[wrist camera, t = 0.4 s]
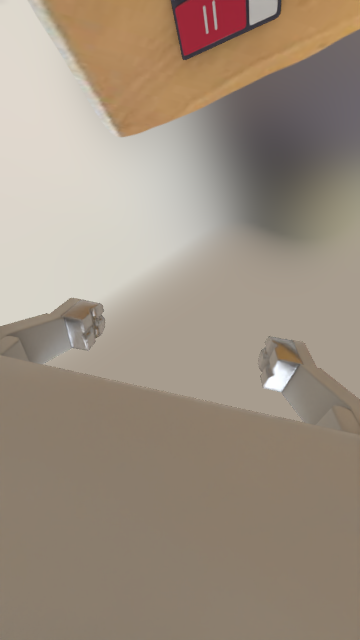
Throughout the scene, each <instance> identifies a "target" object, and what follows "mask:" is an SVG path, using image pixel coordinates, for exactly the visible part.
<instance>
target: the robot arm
mask: <svg viewBox="0 0 360 640" xmlns="http://www.w3.org/2000/svg"><path fill="white" fill-rule="evenodd" d="M103 312H104V309H103V305H102V304H100V303H95V302H90V301H86V300H81V299H76V298H70V299H69V300H67V301H66V302H65V303H63V304H62V305H61V306H59V307H58V308H57V309H55V310H54V311H53V312H52V313H50V314H47V313H46V314H43V315H39V316H36V317H32V318H29V319H25V320H21V321H18V322H14V323H11V324H7V325H3V326H0V640H360V399H359V398H357V397H356V396H355V395H353V394H352V393H351V392H350V391H348V390H347V389H346V388H345V387H343V386H342V385H341V384H340V383H338V382H337V381H336V380H335V379H333V378H332V377H331V376H330V375H328V374H327V373H326V372H324V371H323V370H322V369H321V368H317V367H316V365H315V363H314V361H313V359H312V357H311V355H310V353H309V351H308V349H307V347H306V345H305V343H303V342H300V341H295V340H287V339H281V338H276V337H270V336H269V337H268V338H267V339H266V341H265V345H266V347H265V348H264V349H262V350H261V353H260V355H259V360H258V365H259V369H260V370H261V371H262V374H261V382H262V387H263V388H266V389H270V390H274V391H278V392H282V394H283V396H284V397H285V398H286V399H287V401H288V402H289V403H290V405H291V406H292V407H293V409H294V410H295V411H296V413H297V414H298V415H299V416H300V418H301V419H302V420H303V422H299V421H295V420H291V419H286V418H281V417H277V416H272V415H268V414H263V413H258V412H254V411H250V410H245V409H241V408H236V407H232V406H227V405H223V404H218V403H213V402H209V401H204V400H200V399H196V398H191V397H187V396H183V395H178V394H173V393H169V392H164V391H159V390H155V389H151V388H146V387H142V386H137V385H133V384H128V383H124V382H119V381H115V380H110V379H106V378H101V377H97V376H92V375H88V374H83V373H79V372H74V371H70V370H65V369H61V368H56V367H52V366H47V365H43V364H44V363H46V362H48V361H49V360H51V359H53V358H55V357H57V356H59V355H60V354H62V353H64V352H66V351H68V350H70V349H71V348H76V349H82V350H87V351H88V350H89V349H90V348H91V346H92V345H93V344H94V343H95V338H97V337H99V336H100V335H101V334H102V332H103V330H104V328H105V319H104V317H103V316H102V315H101V314H102V313H103Z"/></svg>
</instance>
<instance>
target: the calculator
mask: <svg viewBox="0 0 360 640" xmlns="http://www.w3.org/2000/svg"><path fill="white" fill-rule="evenodd" d="M171 4H172V9H173V14H174V19H175V24H176V29H177V34H178V39H179V44H180V49H181V55H182V58H183V60H187V59H189V58H191V57H193V56H195V55H198V54H200V53H202V52H204V51H206V50H209V49H211V48H213V47H215V46H217V45H219V44H222V43H224V42H226V41H228V40H230V39H232V38H235V37H237V36H239V35H241V34H243V33H245V32H248V31H250V30H252V29H254V28H256V27H258V26H261V25H263V24H265V23H267V22H269V21H272V20H274V19H276V18H277V17H279V15H280V12H281V0H171Z"/></svg>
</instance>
